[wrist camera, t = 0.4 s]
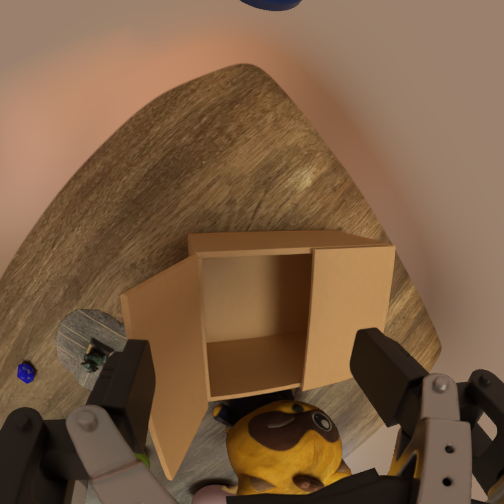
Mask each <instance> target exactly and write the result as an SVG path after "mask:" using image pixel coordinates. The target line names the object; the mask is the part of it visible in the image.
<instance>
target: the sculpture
mask: <svg viewBox="0 0 504 504" xmlns="http://www.w3.org/2000/svg"><path fill="white" fill-rule="evenodd" d="M126 343H127V336H126V331H125V325H124V324H123V325H120V324H119V323H118V322H117V321H116V320H115V319H114V318H112V317H111V316H109V315H108V314H106V313H103V312H100V310H80V309H76V311H75V312H73V313H71V314H70V315H68V316H67V317H66V318H65V319H63V320H62V322H61V323H60V325H59V331H58V333H57V334H56V337H55V345H56V348H57V353H58V357H59V360H60V362H61V364H62V365H63V366H64V367H65V368H66V369H67V370H68V371H70V372H72V373H73V374H74V375H75V377H76V380H77V382H78V383H79V384H80V385H82V386H83V387H85V388H87V389H89V390H90V391H92V389H93V387H94V385H95V383H96V380H97V378H99V374H100V372H101V370H102V367H103V365H104V363H105V361H106V359H107V358H108V357H109V356H111V355H112V354H113V353H114V352H115V351H119V352H123V349H124V347H125V345H126Z"/></svg>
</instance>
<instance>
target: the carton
mask: <svg viewBox="0 0 504 504" xmlns="http://www.w3.org/2000/svg"><path fill="white" fill-rule="evenodd" d="M191 255H198V275H199V297H200V315H201V330H202V344H203V357H204V369H205V380H206V390H207V399H208V402H209V401H218V400H226V399H234V398H241V397H247V396H254V395H260V394H265V393H271V392H276V391H281V390H286V389H291V388H296V387H300V386H301V390H302V391H306V390H310V389H314V388H318V387H322V386H326V385H329V384H333V383H337V382H340V381H344V380H347V379H350V378H354V377H353V376H352V374H351V371H350V365H349V364H350V358H351V353H352V349H353V345H354V340H355V336H356V333H357V331H358V330H359V329H366V328H373V327H376V328H378V329H379V330H380V331H381V332H382V333H383V332H384V327H385V322H386V316H387V310H388V304H389V298H390V291H391V283H392V276H393V267H394V258H395V246H394V245H390V244H389V243H385V242H381V241H377V240H373V239H368V238H364V237H360V236H356V235H352V234H347V233H343V232H339V231H334V230H298V231H252V232H217V233H188V257H190V256H191Z"/></svg>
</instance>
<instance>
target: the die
mask: <svg viewBox="0 0 504 504" xmlns="http://www.w3.org/2000/svg"><path fill="white" fill-rule="evenodd" d="M17 377H18V378H20V379H21V380H22V381H24V382H25V383H27V384H28V383H30V382H32V381H33V380H34V369H33V368H32V367H31V366H30V365H28V364H26V363H23V364H20V365H18V374H17Z"/></svg>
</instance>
